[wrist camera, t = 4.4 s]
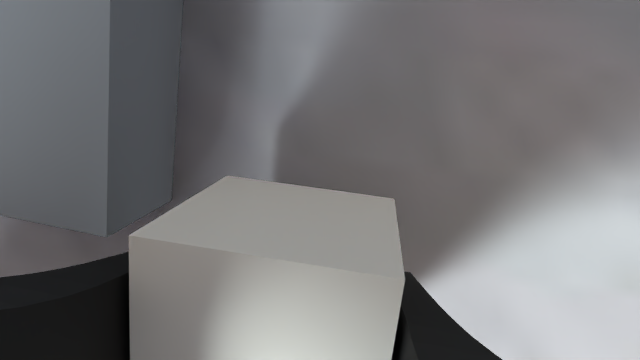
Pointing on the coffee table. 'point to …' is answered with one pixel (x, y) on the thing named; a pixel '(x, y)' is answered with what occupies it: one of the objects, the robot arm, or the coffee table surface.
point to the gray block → (88, 110)
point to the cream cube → (267, 276)
